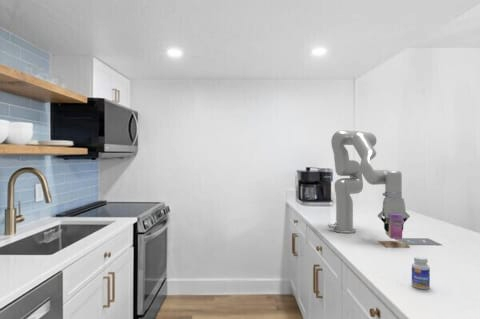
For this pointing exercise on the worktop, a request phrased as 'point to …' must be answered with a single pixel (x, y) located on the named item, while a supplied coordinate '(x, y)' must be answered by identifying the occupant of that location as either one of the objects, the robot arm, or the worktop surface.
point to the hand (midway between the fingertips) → (393, 230)
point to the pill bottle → (420, 273)
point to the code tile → (418, 241)
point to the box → (395, 226)
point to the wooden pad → (394, 244)
